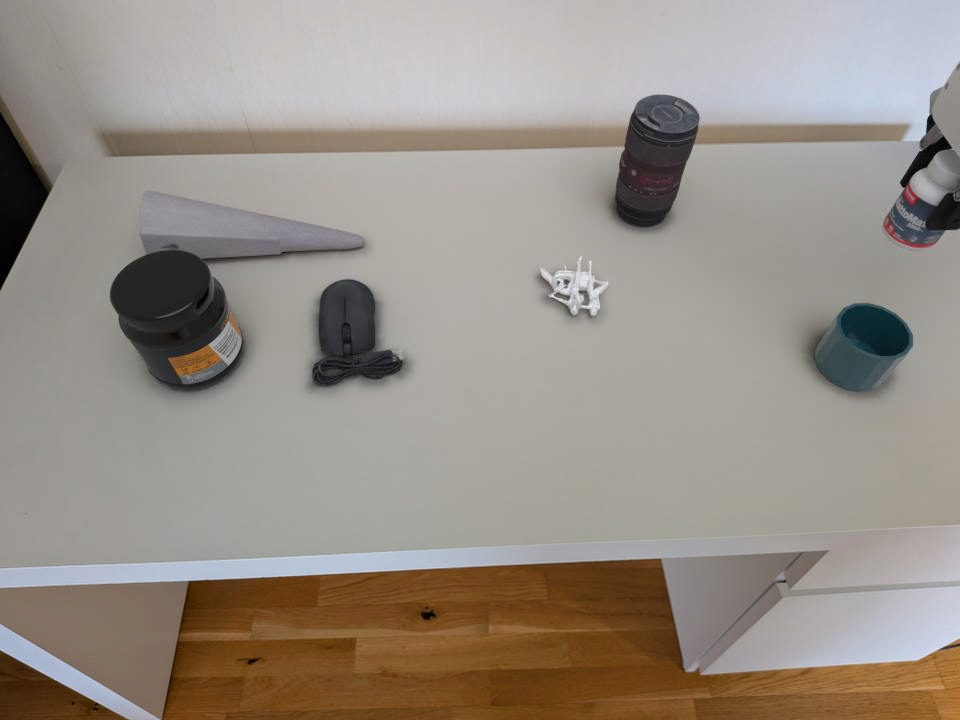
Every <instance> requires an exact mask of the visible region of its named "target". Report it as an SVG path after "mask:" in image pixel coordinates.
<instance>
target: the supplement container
mask: <svg viewBox="0 0 960 720" xmlns="http://www.w3.org/2000/svg"><path fill="white" fill-rule="evenodd" d="M109 300H110V304H111V306H112V307H113V309H114V311H115V313H116V314H117V316H118V317H117V318H118V325H119V327H120V331H122V333H123V335H124V336H125V337H126V339H127V340H128V341H130V343H131V344H132V346H133V348H134V349H135V351H136V352H137V353H138V355H139V357H140V358H141V360H142V361H143V363H144V365H145V367H146V368H147V370H148V372H149V374H150V375H151V376H152V378H154V379H155V381H157V382H159V384H161V385H163V386H165V387H167V388H170V389H174V390H177V391H194V390H200V389H204V388H207V387H211V386H212V385H214V384H215V385H216V384H217V383H218V382H221V381H222V380H224V379H225V378H226V377H228V376H229V375H230V374H231V373H232V372H233V371H234V370H235V369H236V367H237V366H238V364H239V362H240V361H241V359H242V357H243V354H244V350H245V337H244V334H243V331H242V329H241V327H240V326H239V324H238V322H237V319H236V316H235V315H234V312H233V311H232V307H231V306H230V303H229V301H228V299H227V293H226V291H225V289H224V286H223V285H222V283H221V282H220V281H219V280H218V279H217V278H216V277H215V276H213V273H212V272H211V269H210V268H209V266H208V264H207V262H206V261H205V260H204V259H201V258H200V257H199V256H197V255H195V254H193V253H190V252H187V251H182V250H163V251H157V252H153V253H150V254H144V255H142V256H139V257H138V258H136V259H134V260H132V261H131V262H129V263H128V264H126V266H124V267H123V268H122V269H121V270H120V271H119V272H118V273H117V275H116V276H115V278H114V279H113V281H112V283H111V286H110V289H109Z"/></svg>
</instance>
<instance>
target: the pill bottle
mask: <svg viewBox="0 0 960 720" xmlns="http://www.w3.org/2000/svg"><path fill="white" fill-rule="evenodd" d="M959 178H960V158H959V156H958V155H957V154H956V152H955V151H954V149H950V150H943V151H940V152H938V153H937V154H936V155H935V156H934V158H933V159H932V161H931V162H930V163H929V165H928V167H927V168H924V169H921V170H919V171H918V172H916V173H915V174H914V175H913V176H912V178H911V179H910V181H909V182H908V184H907V185H906V187H905V188H903V190H902V192H901V193H900V195H899V196H898V197H897V199H896V201H895V202H894V204H893V205H892V207H891V209H890V210H889V212H888V213H887V214H886V216H885V218H884V219H883V221H882V224H881V230H882V233H883V235H884V237H886V239H887V240H888V241H889V242H891V243H892V244H893V245H895V246H897V247H899V248H901V249H903V250H908V251H912V252H923V251H924V252H925V251H927V250H930V249H932V248H934V247H935V245H936V244H937V243H938V242H939V241H940V240H941V238H942V237H943V235H944V234H945V233H946V232H947V230H927V228H926V226H925V224H926V221H927V220H928V219H929V217H930V216H931V214H932V213H933V211H934V210H935V209H936V207H937V206H938V204H939V203H940V201H941V200H942V199H943V197H944V196H945V195H946V194H947V193H954V190H955V188H956V185H957V183H958V181H959Z"/></svg>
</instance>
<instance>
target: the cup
mask: <svg viewBox="0 0 960 720" xmlns="http://www.w3.org/2000/svg"><path fill="white" fill-rule="evenodd" d="M913 347H914V334H913V332H912V330H911V329H910V326H909V324H908V323H907V322H906V321H905V320H904V319H903V318H902V317H901V316H899V315H898V314H897V313H896V312H894V311H892V310H890V309H888V308H886V307H884V306H881V305H878V304H875V303H871V302H855V303H852V304H848V305H846V306H844V307H843V308H842V309H841V310H840V311H839V312H838V314H837V315H836V316H835V318H834V319H833V321H832V323H831V324H830V326H829V327H828V328H827V330H826V332H825V333H824V335H823V336H822V338H821V339H820V341H819V342H818V344H817V346H816V348H815V350H814V361H815V365H816V368H817V369H818V370H819V372H820V373H821V374H822V376H824V377H825V378H826V379H827V380H828V381H830V382H831V384H834V385H836V386H837V387H840V388H842V389H844V390H847V391H851V392H862V393H863V392H870V391H873V390H875V389H877V388H879V387H880V386H881V385H882V384H883V383H885V381H886V380H887V379H888V377H889V376H890V375H891V374H892V373H893V372H894V370H895V369H896V368H897V367H898V366H899V365H900V363H902V361H903V360H904V358H906V356H907V355H908V354H909V352H910V351H911V350H912V348H913Z"/></svg>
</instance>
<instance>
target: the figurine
mask: <svg viewBox="0 0 960 720" xmlns="http://www.w3.org/2000/svg"><path fill="white" fill-rule="evenodd" d="M582 260H583V256H582V255H580V256H578V260H577V261H576V268H575V270H568V269H567V267H566V265H563V267H564V269H563V270H561V269H560V270H557V271H556V272H555V273H554V275H552V274H550V273H549V272H548V270H546V268H544V267H540V268H539V271H540V272H541V277H542V278H543V279H544V280H545V281H547V282H548V283H549V284H550V286H551V289H552V290H553V292H551V293H548V294H547V296H548V297H549V298H551V299H555V300H556V301H557V302H560V303H562V304H563V305H565V306H566V307H568V309H569V312H570V315H571V316H577V315H578V314H579V313H580V310H581V309H585V310H588V311H589V314H590V316H592V317H594V316H597V313H598V312H599V311H600V310H601V304H600V303H601V302H600V296H599V295H602V293H603V292H604V291H605V290H606V289H607V288H608V286H610V285H609V284H610V282H609V281H607V280H606V281H603V280H599V279H598V280H597V279H596V278H595V275H593V274H592V263H593V260H592V259H591V260H589V261H588V271H584V270H583V271H582ZM565 281H569V282H568V283H567V284H565ZM558 282H559V283H558ZM595 283H596V284H598V285H599V286H597V287H596V288H594V285H595ZM566 286H567V287H566ZM580 292H586V293H587V296H588V298H589V302H588V304H587V305H583V304H582V303H583V302H584V300H585V298H584V295H583V294H580ZM557 293H558V294H561V295H563V296H567V297H569V299H568V300H567V299H563V298H560V297H557V296H555V295H556V294H557Z"/></svg>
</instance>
